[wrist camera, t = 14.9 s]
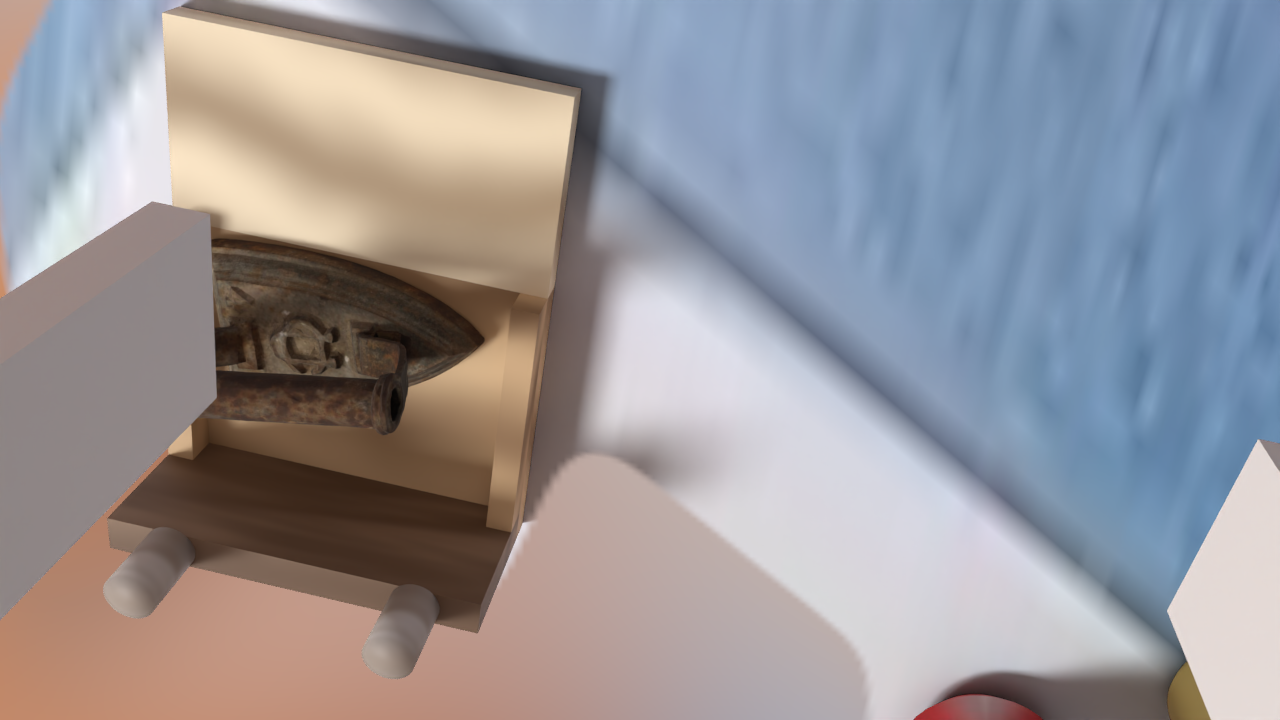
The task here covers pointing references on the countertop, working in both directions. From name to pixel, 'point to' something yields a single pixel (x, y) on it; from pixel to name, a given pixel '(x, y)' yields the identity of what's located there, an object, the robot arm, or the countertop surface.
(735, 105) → the countertop surface
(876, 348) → the countertop surface
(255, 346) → the clothes iron
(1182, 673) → the paper tube
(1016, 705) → the liquor
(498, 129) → the cradle
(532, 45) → the countertop surface
